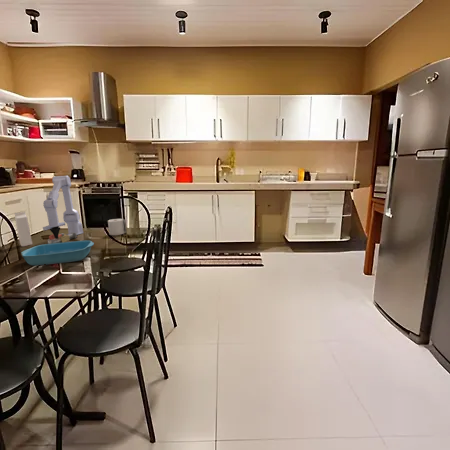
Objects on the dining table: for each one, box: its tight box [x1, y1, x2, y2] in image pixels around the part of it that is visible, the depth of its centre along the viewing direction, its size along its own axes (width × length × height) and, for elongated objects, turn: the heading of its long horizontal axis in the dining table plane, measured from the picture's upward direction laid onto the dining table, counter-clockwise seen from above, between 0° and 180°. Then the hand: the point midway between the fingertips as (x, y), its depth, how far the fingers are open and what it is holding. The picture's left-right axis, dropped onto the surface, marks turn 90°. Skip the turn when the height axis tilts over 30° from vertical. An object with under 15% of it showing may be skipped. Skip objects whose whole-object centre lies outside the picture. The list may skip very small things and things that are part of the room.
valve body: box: [47, 232, 78, 244], centre depth 213 cm, size 20×6×4 cm, turn 156°
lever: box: [48, 232, 65, 240], centre depth 207 cm, size 12×3×3 cm, turn 170°
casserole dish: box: [20, 239, 95, 266], centre depth 175 cm, size 37×22×7 cm, turn 100°
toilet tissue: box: [107, 218, 128, 236], centre depth 227 cm, size 11×12×10 cm
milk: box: [14, 211, 33, 247], centre depth 207 cm, size 6×6×22 cm
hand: (56, 238), depth 204 cm, fingers closed, pressing on lever
